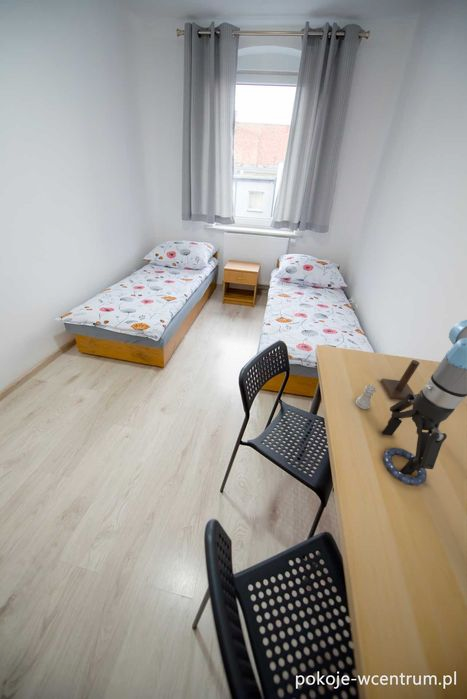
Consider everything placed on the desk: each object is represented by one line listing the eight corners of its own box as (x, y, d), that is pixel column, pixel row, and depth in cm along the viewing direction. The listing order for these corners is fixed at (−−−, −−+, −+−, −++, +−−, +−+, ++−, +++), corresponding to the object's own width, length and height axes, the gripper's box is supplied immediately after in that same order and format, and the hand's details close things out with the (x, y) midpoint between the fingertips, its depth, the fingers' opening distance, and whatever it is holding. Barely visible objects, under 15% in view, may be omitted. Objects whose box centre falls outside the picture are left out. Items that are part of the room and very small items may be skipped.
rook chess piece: (352, 403, 92) (361, 385, 88) (359, 398, 95) (368, 380, 90) (364, 411, 90) (374, 394, 85) (371, 406, 92) (381, 388, 87)
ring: (412, 453, 78) (416, 448, 77) (431, 489, 70) (435, 485, 69) (376, 448, 78) (379, 444, 77) (391, 484, 70) (394, 480, 69)
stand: (403, 384, 104) (422, 355, 96) (415, 401, 96) (436, 372, 88) (380, 381, 103) (396, 352, 96) (390, 398, 96) (408, 369, 88)
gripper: (400, 364, 75) (367, 417, 87) (452, 439, 55) (401, 493, 68) (427, 368, 75) (391, 420, 88) (489, 443, 55) (431, 497, 68)
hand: (395, 452), depth 78 cm, fingers open, 12 cm apart
